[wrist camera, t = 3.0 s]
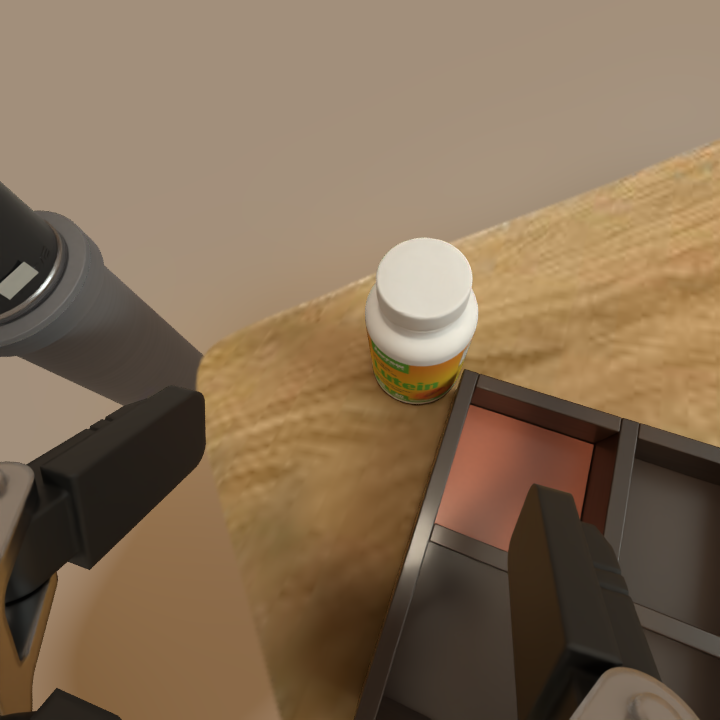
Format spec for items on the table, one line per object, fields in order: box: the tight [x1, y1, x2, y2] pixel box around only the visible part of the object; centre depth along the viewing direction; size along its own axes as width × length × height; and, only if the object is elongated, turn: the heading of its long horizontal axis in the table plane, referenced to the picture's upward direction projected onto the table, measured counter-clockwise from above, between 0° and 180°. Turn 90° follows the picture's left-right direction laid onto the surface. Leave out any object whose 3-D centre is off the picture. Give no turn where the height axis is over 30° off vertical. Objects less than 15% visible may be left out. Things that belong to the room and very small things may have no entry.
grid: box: [354, 369, 720, 720], centre depth 19 cm, size 16×16×4 cm
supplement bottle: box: [365, 238, 478, 404], centre depth 22 cm, size 5×5×10 cm
